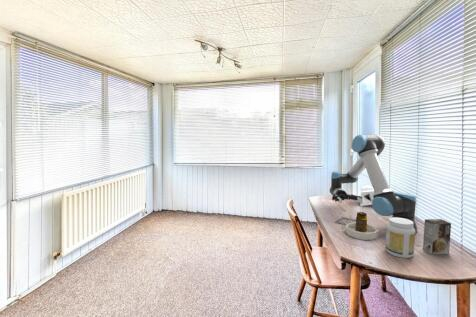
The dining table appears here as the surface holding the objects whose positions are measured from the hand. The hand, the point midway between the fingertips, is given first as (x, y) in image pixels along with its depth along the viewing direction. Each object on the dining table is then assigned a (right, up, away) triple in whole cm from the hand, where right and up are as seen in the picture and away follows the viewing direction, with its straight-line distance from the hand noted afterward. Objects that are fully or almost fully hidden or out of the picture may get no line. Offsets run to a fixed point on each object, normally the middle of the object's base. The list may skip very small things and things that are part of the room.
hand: (351, 201), depth 167 cm
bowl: (-1, -17, -16) cm, 23 cm away
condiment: (-2, -16, -16) cm, 23 cm away
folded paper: (+38, -11, +51) cm, 65 cm away
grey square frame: (0, -15, +5) cm, 16 cm away
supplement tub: (+6, -20, -40) cm, 45 cm away
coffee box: (+26, -19, -38) cm, 50 cm away
